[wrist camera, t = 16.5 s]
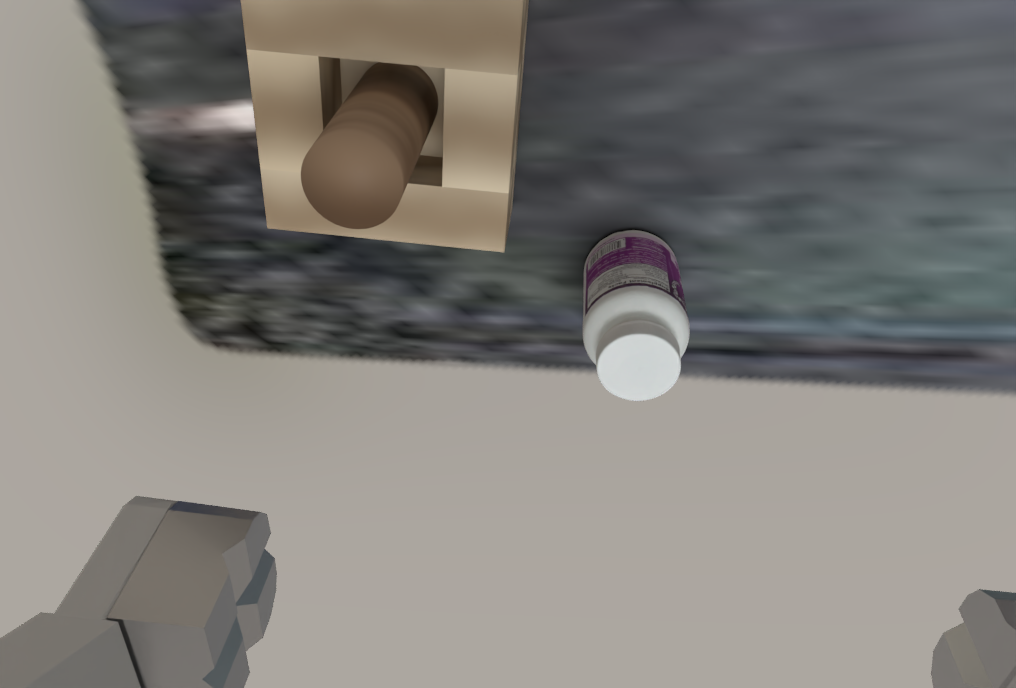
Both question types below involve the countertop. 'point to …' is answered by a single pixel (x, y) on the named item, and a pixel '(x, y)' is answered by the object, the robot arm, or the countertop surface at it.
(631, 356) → the pill bottle
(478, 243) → the socket block
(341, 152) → the peg
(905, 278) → the countertop surface
